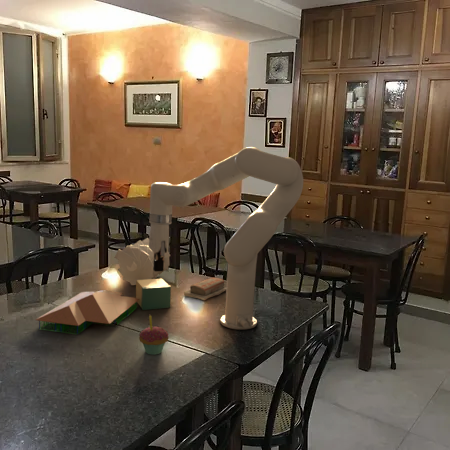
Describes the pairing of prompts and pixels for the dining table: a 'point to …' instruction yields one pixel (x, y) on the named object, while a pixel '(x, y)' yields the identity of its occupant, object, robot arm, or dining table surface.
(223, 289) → the packaged product
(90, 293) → the house
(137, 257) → the spiral staircase
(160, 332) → the cupcake
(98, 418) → the dining table surface
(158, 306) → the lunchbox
